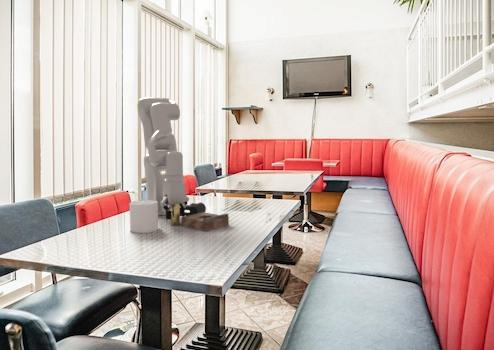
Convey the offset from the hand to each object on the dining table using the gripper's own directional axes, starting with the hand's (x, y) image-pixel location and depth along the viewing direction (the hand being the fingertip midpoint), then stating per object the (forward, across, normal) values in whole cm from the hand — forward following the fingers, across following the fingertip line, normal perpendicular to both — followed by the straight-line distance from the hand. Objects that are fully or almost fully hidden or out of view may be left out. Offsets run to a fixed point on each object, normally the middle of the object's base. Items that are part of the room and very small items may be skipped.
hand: (175, 217), depth 175 cm
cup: (+4, +15, -3) cm, 16 cm away
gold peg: (+3, 0, 0) cm, 3 cm away
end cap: (+4, -17, -5) cm, 18 cm away
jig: (+3, -7, +12) cm, 14 cm away
